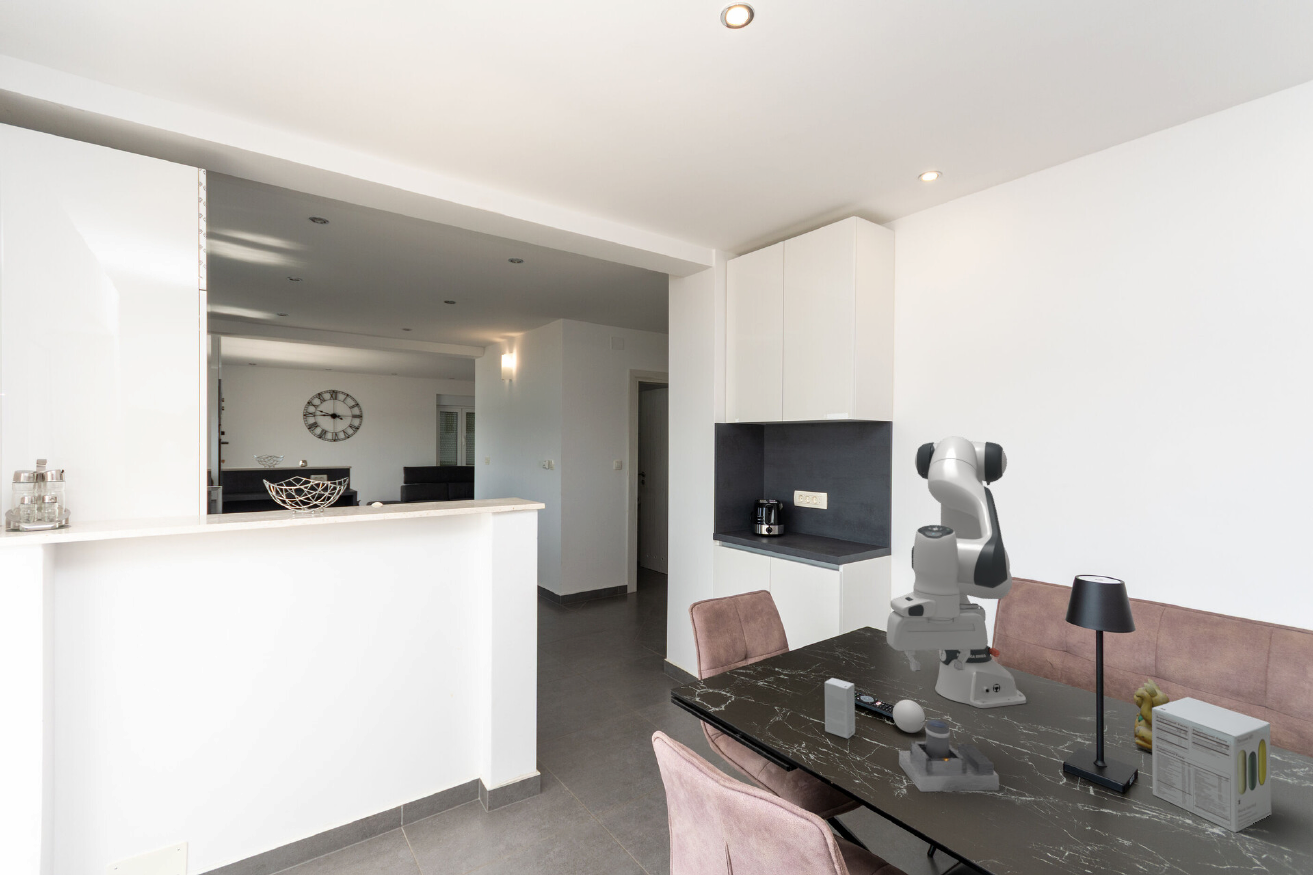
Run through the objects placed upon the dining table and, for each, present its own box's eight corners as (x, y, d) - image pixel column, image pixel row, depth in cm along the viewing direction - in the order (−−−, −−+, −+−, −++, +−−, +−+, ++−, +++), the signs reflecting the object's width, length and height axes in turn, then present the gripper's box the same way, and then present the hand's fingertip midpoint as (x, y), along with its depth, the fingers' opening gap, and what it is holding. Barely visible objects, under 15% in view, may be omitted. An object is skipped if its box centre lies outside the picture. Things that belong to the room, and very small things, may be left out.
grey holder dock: (971, 763, 130) (971, 737, 130) (998, 790, 120) (998, 761, 120) (899, 764, 129) (898, 738, 130) (920, 791, 119) (920, 762, 120)
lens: (942, 756, 127) (942, 718, 127) (954, 768, 122) (954, 728, 123) (921, 756, 127) (921, 718, 127) (932, 768, 122) (932, 728, 123)
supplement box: (1236, 834, 106) (1235, 736, 106) (1151, 794, 118) (1149, 706, 118) (1273, 816, 111) (1272, 722, 112) (1188, 779, 124) (1187, 695, 124)
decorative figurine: (1136, 735, 142) (1136, 672, 143) (1182, 747, 136) (1181, 682, 137) (1130, 749, 136) (1129, 683, 136) (1178, 763, 130) (1177, 694, 130)
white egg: (919, 741, 140) (919, 710, 140) (888, 731, 145) (887, 701, 145) (933, 726, 147) (933, 697, 147) (903, 717, 152) (903, 688, 152)
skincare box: (855, 733, 144) (855, 683, 144) (847, 739, 141) (847, 688, 141) (832, 725, 148) (832, 676, 148) (824, 731, 145) (823, 681, 145)
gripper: (976, 599, 128) (977, 663, 128) (883, 600, 128) (883, 664, 128) (993, 607, 122) (994, 674, 122) (895, 608, 122) (896, 676, 121)
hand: (937, 669), depth 125 cm, fingers open, 8 cm apart
